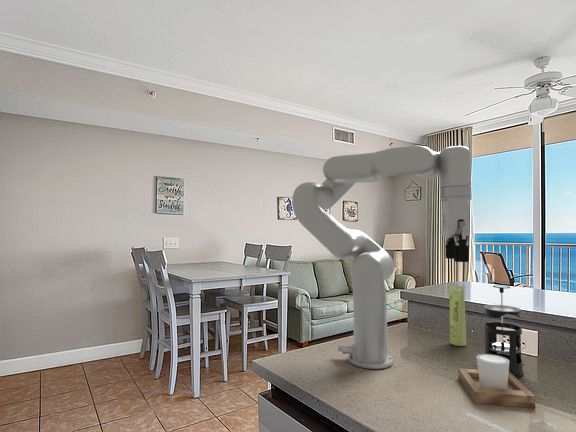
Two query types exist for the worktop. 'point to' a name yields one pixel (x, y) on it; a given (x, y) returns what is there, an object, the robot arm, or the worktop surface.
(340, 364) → the worktop surface
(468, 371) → the tray
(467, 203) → the robot arm
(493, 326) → the french press
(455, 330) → the tube
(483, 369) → the white tapered cylinder
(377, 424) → the worktop surface
